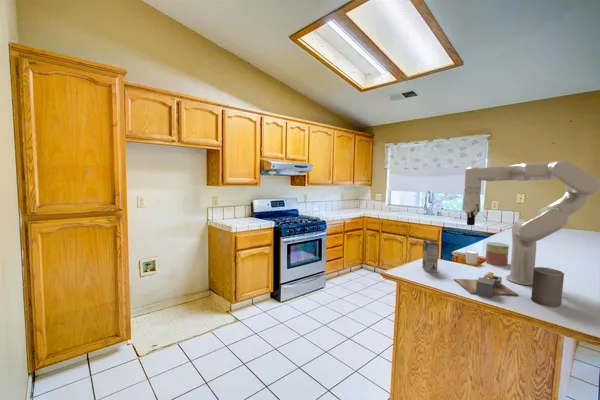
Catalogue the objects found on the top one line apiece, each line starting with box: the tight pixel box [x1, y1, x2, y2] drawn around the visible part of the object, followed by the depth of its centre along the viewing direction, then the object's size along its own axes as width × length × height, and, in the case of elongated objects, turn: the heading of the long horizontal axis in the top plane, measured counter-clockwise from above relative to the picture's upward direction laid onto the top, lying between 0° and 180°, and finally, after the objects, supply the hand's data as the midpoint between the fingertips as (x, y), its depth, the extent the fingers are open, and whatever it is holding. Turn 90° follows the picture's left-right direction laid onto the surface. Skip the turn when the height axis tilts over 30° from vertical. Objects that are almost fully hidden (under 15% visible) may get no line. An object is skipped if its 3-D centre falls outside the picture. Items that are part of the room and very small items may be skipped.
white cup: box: [465, 250, 479, 265], centre depth 174 cm, size 7×7×7 cm
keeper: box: [475, 277, 495, 299], centre depth 127 cm, size 7×6×6 cm
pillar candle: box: [530, 266, 565, 308], centre depth 119 cm, size 10×10×15 cm
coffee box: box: [422, 239, 440, 273], centre depth 161 cm, size 9×6×16 cm
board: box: [453, 278, 519, 297], centre depth 135 cm, size 20×17×1 cm
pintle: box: [487, 271, 494, 279], centre depth 138 cm, size 2×2×5 cm
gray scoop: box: [482, 273, 503, 290], centre depth 133 cm, size 17×7×3 cm, turn 139°
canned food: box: [484, 241, 510, 267], centre depth 173 cm, size 11×11×12 cm
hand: (470, 224), depth 151 cm, fingers closed
